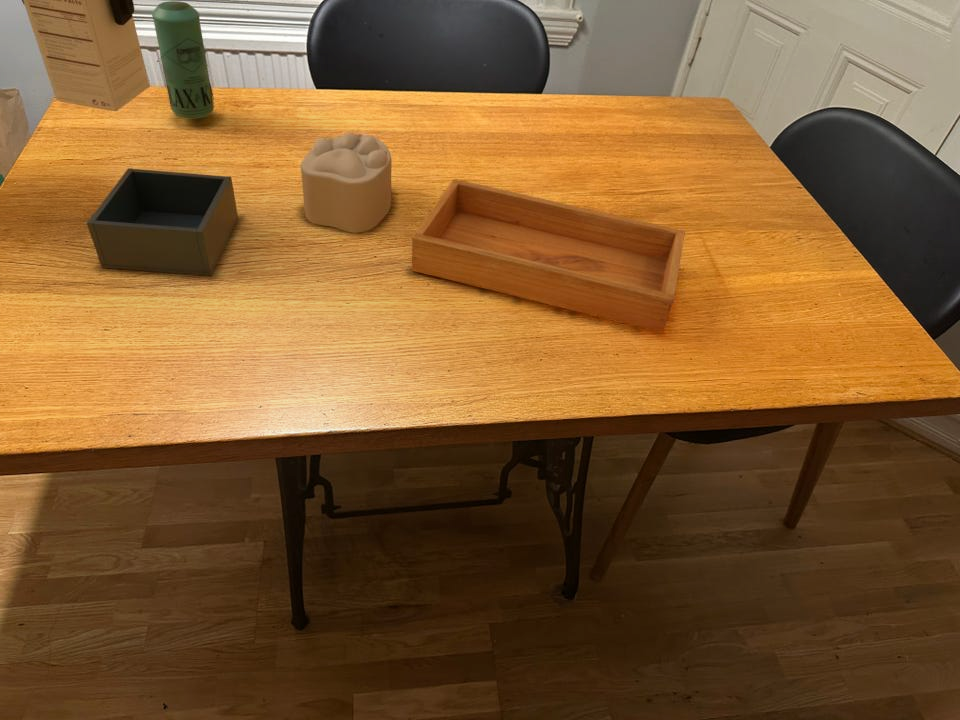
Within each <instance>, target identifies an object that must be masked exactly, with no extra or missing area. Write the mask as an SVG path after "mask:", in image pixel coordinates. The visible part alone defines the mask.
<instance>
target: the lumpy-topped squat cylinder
mask: <svg viewBox="0 0 960 720" xmlns="http://www.w3.org/2000/svg"><path fill="white" fill-rule="evenodd" d="M392 166H393V165H392V155H391V152H390V149H389V147H388V146H387V144H385V142H383V141H382V140H381V139H379V138H378V137H376V136H374V135H369V134H361V133H354V132H347V133H344V134H343V135H338V136H334V137H329V138H326V137H319V138H317V139H316V140H315V141H314V143H313V145H312V148H311V150H310V151H309V152H308V153H307V154H306V155H305V156H304V157H303V159H302V160H301V163H300V173H301V186H302V196H303V197H302V199H303V209H304V217H305V218H306V220H307V221H308V222H309V223H312V224H314V225H318V226H325V227H332V228H335V229H339V230H342V231H344V232H349V233H355V234H358V233H359V234H360V233H364V232H369V231H370V230H372V229H374V228H376V227H377V226H378V224H380V223H381V222H382V221H383V219H384V218H385V217H386V215H387V214H388V212H389V211H390V209H391V206H392V168H393V167H392Z"/></svg>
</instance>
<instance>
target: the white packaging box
mask: <svg viewBox="0 0 960 720" xmlns="http://www.w3.org/2000/svg"><path fill="white" fill-rule="evenodd" d="M23 2H24V4H25V5H24V4H23V5H24V7H25V11H26V13H27V16H28V20H29V23H30V25H31V28H32V32H33V34H34V37H35V40H36V43H37V46H38V49H39V52H40V55H41V58H42V62H43V64H44V67H45V70H46V73H47V76H48V79H49V83H50V85H51V88H52V91H53V94H54V96H55V99H56V101H58V102H61V103H66V104H72V105H76V106H83V107H88V108H93V109H99V110H104V111H111V112H118V111H119V110H120V109H122V108H123V107H125V106H126V105H127V104H129V103H130V102H131V101H133V100H134V99H135V98H137V97H138V96H139V95H141V94H142V93H143V92H145V91H147V89H149V88H150V83H149V78H148V74H147V69H146V65H145V62H144V57H143V53H142V49H141V45H140V39H139V36H138V33H137V27H136V24H135V23H136V22H135V20H134V16H133V14H132V18H131V19H130V20H129V21H128V22H127V23H126V24H124V25H118V24H117V23H115V19H114V15H113V12H112V8H111V4H110V0H23ZM23 2H22V3H23Z"/></svg>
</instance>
